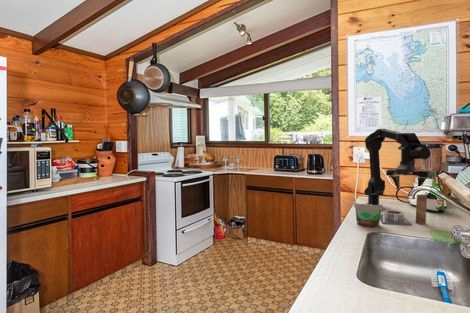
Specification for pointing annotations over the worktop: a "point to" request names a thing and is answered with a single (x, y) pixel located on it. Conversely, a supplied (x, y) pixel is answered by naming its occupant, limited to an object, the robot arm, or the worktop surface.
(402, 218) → the bracket
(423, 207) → the brown wooden cylinder
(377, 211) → the food container
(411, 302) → the worktop surface
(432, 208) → the spread jar
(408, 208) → the worktop surface
